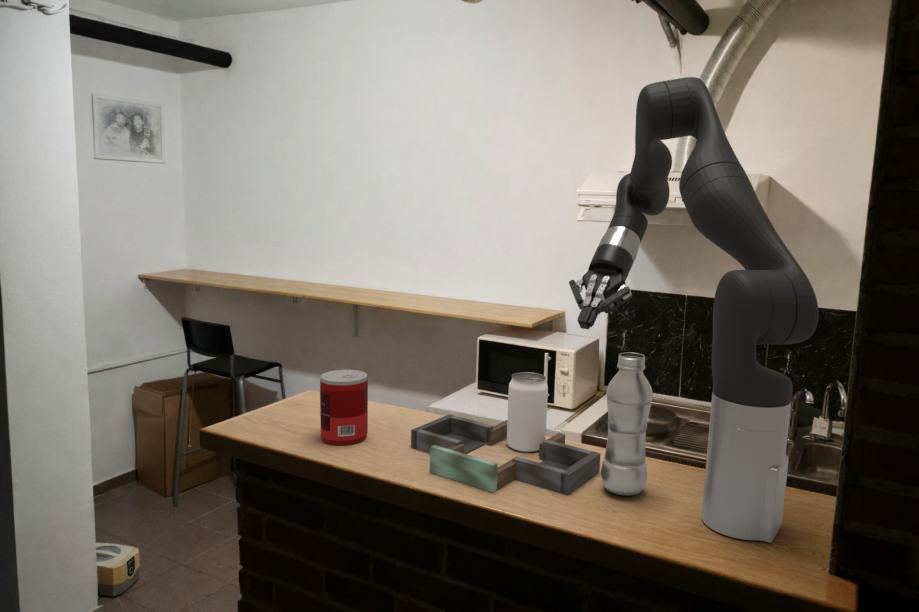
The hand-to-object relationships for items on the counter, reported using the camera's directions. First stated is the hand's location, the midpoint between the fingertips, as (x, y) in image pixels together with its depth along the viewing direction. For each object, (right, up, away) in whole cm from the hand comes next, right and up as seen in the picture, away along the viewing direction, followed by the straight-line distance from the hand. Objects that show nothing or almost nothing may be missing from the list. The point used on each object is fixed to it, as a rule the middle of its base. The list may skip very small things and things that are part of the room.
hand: (583, 326), depth 129 cm
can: (-12, -20, -12) cm, 26 cm away
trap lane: (-16, -21, -18) cm, 32 cm away
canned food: (-42, -19, -10) cm, 48 cm away
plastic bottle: (+1, -23, -29) cm, 37 cm away
